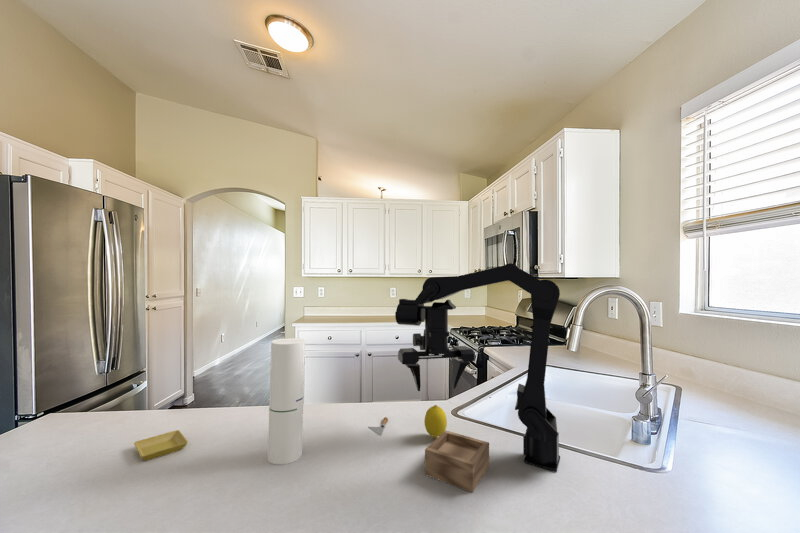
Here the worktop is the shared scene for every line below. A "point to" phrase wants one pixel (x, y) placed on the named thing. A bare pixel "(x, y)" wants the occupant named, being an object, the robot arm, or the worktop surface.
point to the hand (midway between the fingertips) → (436, 389)
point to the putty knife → (379, 429)
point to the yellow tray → (160, 445)
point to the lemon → (435, 421)
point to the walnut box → (457, 460)
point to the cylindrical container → (286, 400)
